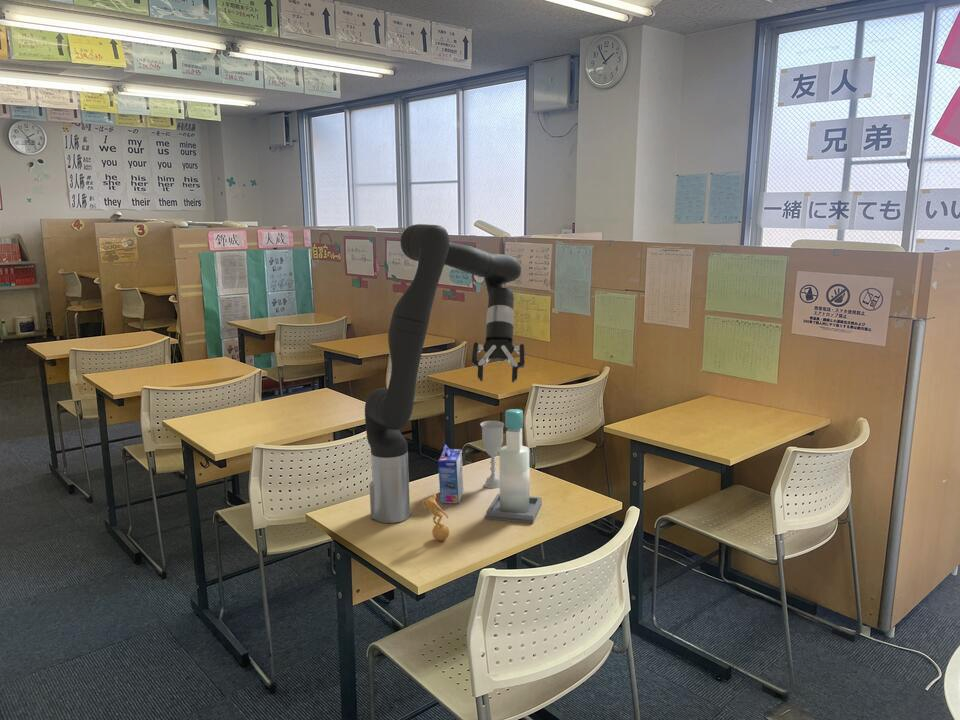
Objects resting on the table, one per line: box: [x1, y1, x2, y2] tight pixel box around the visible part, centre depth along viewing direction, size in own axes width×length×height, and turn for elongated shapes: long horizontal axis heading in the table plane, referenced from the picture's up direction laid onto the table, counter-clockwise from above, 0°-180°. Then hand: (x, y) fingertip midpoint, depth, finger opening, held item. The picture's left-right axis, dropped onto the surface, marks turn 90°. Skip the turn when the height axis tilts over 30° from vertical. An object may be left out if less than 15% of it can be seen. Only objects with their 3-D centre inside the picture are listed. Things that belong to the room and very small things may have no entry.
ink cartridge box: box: [437, 444, 464, 504], centre depth 190 cm, size 10×6×14 cm, turn 174°
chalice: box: [479, 420, 506, 489], centre depth 198 cm, size 7×7×18 cm
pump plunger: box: [504, 408, 524, 432], centre depth 177 cm, size 4×4×10 cm
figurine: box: [421, 493, 450, 542], centre depth 163 cm, size 8×6×12 cm
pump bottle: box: [485, 428, 543, 524], centre depth 179 cm, size 12×12×22 cm
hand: (497, 381), depth 187 cm, fingers open, 8 cm apart
